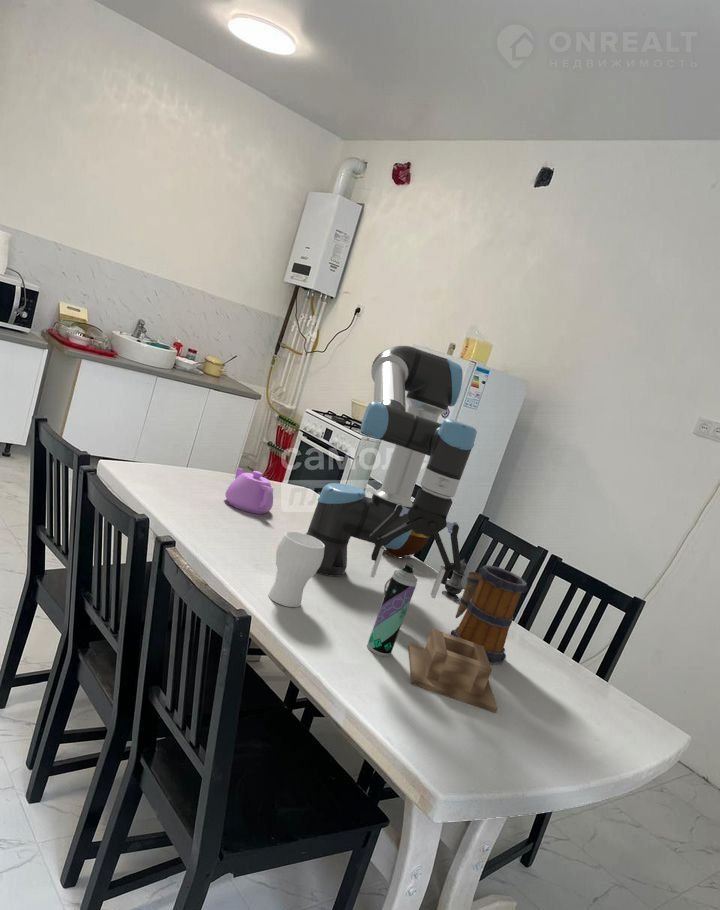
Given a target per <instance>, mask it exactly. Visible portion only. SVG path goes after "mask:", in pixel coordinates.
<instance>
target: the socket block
mask: <svg viewBox="0 0 720 910" xmlns="http://www.w3.org/2000/svg"><path fill="white" fill-rule="evenodd" d="M407 651H408V660H409V671H410V683H411V685H412V686H416V687H419V688H423V689H424V690H429V691H432V692H433V693H437V694H440V695H442V696H446V697H448V698H452V699H455V700H457V701H461V702H463V703H467V704H470V705H472V706H476V707H478V708H481V709H484V710H487V711H490V712H493V713H494V714H495V713H497V712H498V709H499V707H498V705H497V702H496V699H495V698H496V697H495V696H494V693H493V689H492V687H491V683H490V679H489V678H490V676H491V674H492V671H493V669H492V665H490V663H489V660H488V658H487V655H486V652H485V649H484V646H482V645H479V644H476V643H473V642H470V641H467V640H464V639H461V638H458V637H456V636H453V635H451V633H450V634H449V633H447V632H443V631H442V630H441V631H440V630H439V629H435V628H431V630H430V633H429V636H428V639H427V641H426V643H425V647H423V646H420V645H417V644H413V643H411V642H410V643H409V644H408V648H407Z"/></svg>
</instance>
